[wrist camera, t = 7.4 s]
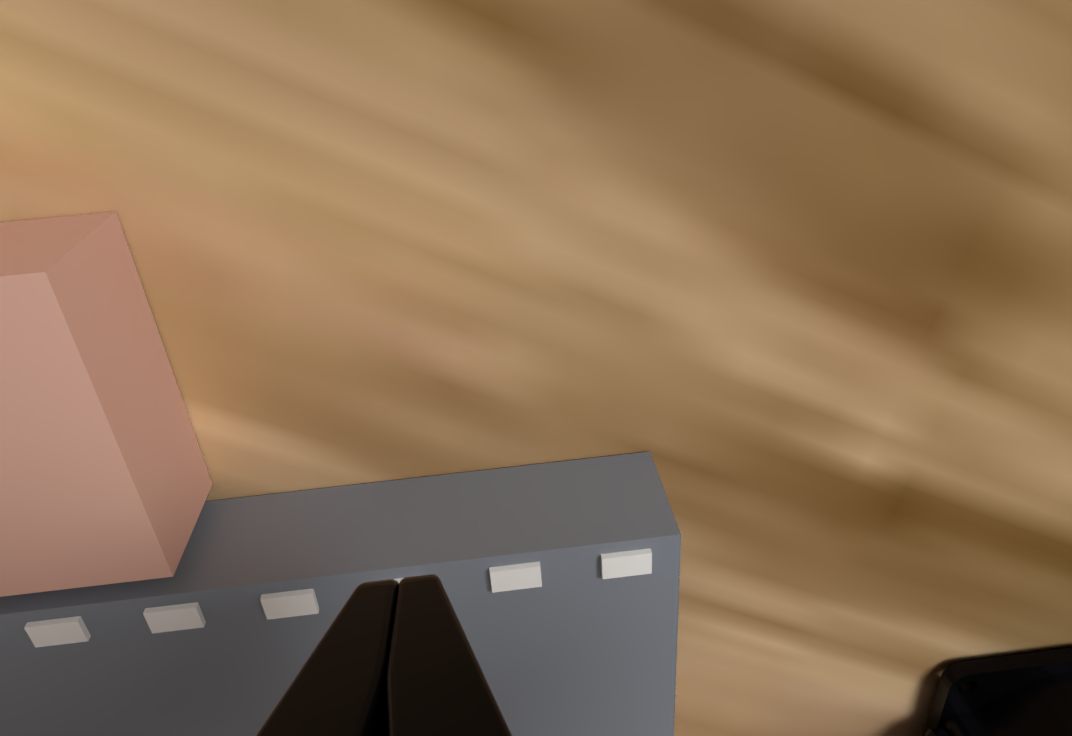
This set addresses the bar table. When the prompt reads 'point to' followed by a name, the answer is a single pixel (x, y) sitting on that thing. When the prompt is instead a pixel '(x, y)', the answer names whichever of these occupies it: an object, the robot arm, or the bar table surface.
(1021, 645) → the bar table surface
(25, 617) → the grey flat block
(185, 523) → the pink block
